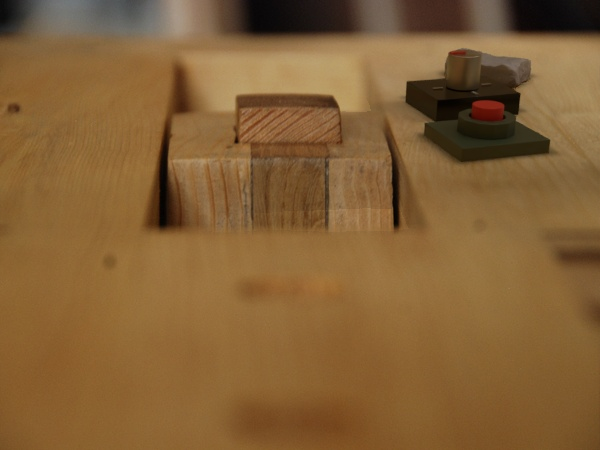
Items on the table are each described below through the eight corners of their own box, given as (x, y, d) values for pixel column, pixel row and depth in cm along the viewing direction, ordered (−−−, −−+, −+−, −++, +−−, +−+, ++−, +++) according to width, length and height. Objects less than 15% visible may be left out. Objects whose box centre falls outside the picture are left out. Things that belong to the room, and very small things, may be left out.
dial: (469, 81, 113) (472, 46, 111) (484, 89, 109) (488, 53, 107) (440, 83, 111) (442, 48, 109) (454, 91, 108) (457, 55, 106)
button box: (504, 132, 102) (507, 100, 100) (548, 157, 93) (552, 124, 92) (423, 139, 99) (425, 107, 97) (461, 167, 90) (464, 132, 89)
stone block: (464, 77, 134) (438, 77, 126) (470, 47, 132) (444, 46, 124) (533, 91, 128) (511, 92, 119) (540, 60, 126) (519, 59, 118)
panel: (482, 95, 117) (484, 74, 116) (518, 115, 109) (521, 91, 107) (405, 102, 114) (406, 80, 113) (435, 122, 105) (437, 98, 104)
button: (493, 113, 97) (494, 99, 96) (508, 122, 93) (510, 107, 93) (465, 116, 96) (466, 101, 95) (480, 124, 93) (481, 109, 92)
